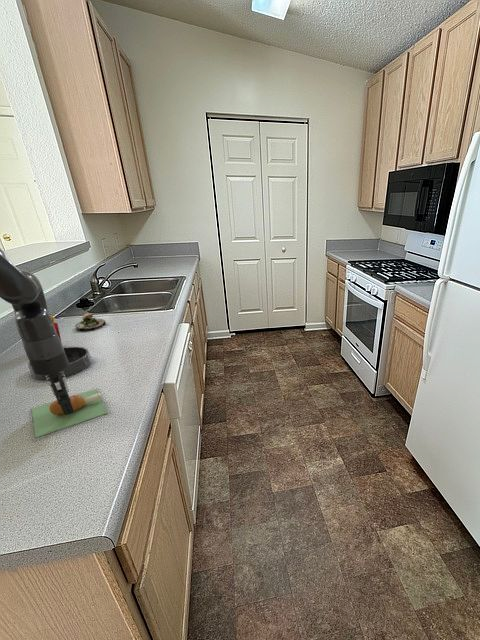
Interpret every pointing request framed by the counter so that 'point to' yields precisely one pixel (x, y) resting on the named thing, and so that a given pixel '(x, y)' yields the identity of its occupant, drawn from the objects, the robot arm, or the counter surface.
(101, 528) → the counter surface
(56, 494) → the counter surface
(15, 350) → the counter surface
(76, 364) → the pan
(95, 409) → the napkin
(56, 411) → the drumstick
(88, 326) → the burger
